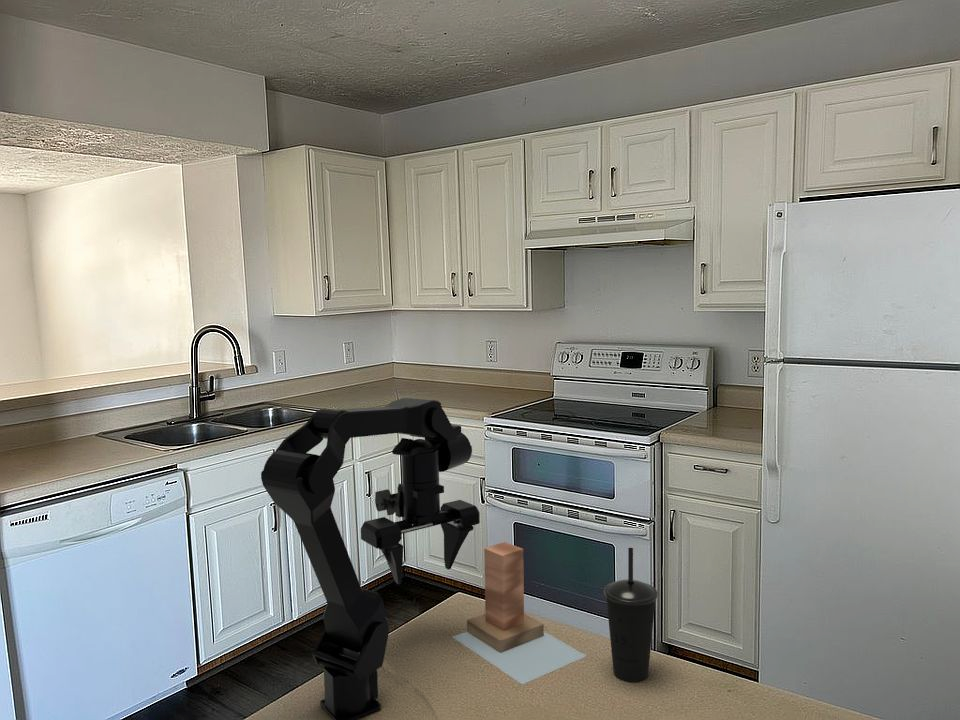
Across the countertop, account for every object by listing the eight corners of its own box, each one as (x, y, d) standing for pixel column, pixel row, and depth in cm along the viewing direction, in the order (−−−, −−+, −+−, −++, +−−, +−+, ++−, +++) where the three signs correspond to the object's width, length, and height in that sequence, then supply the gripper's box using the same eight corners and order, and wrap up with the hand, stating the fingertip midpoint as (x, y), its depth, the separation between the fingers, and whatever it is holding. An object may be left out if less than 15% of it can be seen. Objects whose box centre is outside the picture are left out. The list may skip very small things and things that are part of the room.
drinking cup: (612, 661, 111) (612, 536, 109) (662, 672, 108) (662, 543, 106) (597, 686, 105) (597, 553, 103) (650, 699, 101) (651, 561, 99)
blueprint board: (522, 690, 104) (522, 684, 104) (452, 642, 118) (452, 636, 118) (587, 662, 111) (587, 655, 111) (514, 620, 126) (513, 614, 126)
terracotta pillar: (503, 631, 116) (502, 555, 114) (485, 621, 119) (484, 548, 118) (524, 622, 119) (523, 548, 117) (505, 613, 122) (504, 541, 121)
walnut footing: (500, 652, 113) (500, 640, 113) (467, 631, 120) (466, 620, 120) (543, 635, 118) (543, 624, 118) (509, 616, 125) (509, 605, 125)
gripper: (442, 460, 124) (444, 547, 125) (342, 478, 113) (346, 574, 114) (480, 472, 115) (482, 567, 116) (376, 494, 104) (380, 598, 105)
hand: (423, 575), depth 113 cm, fingers open, 9 cm apart
